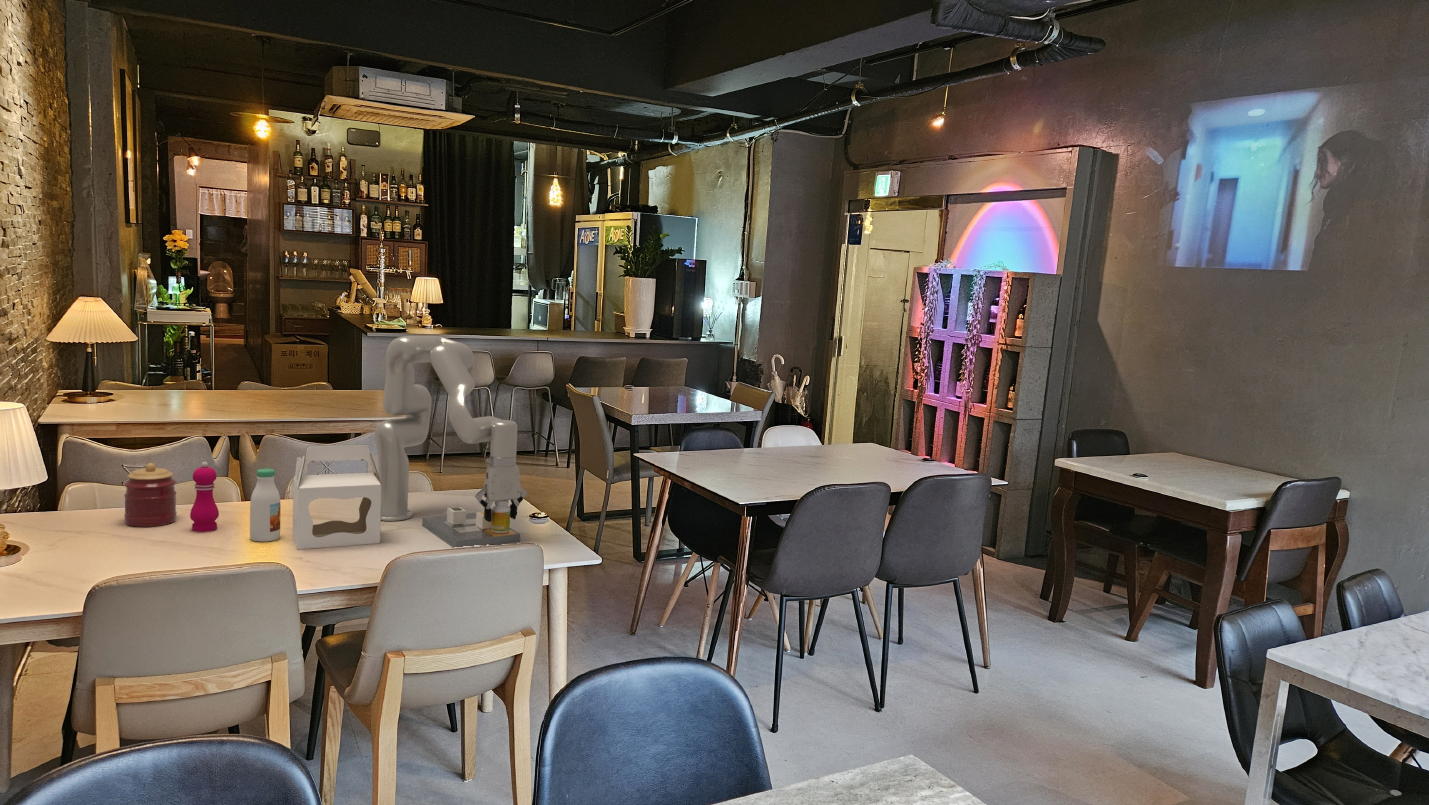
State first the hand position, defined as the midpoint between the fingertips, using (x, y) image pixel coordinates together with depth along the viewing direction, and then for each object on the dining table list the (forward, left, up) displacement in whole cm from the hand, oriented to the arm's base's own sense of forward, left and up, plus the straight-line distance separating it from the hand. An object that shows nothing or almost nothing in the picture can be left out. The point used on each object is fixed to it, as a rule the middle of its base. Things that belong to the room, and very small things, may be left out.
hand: (500, 519), depth 265 cm
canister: (-84, +57, -7) cm, 102 cm away
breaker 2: (-2, +6, -4) cm, 8 cm away
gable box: (-42, +18, -7) cm, 46 cm away
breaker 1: (-8, +14, -4) cm, 17 cm away
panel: (-5, +10, -7) cm, 13 cm away
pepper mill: (-72, +43, -7) cm, 84 cm away
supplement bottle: (0, 0, -4) cm, 4 cm away
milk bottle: (-59, +27, -7) cm, 65 cm away
